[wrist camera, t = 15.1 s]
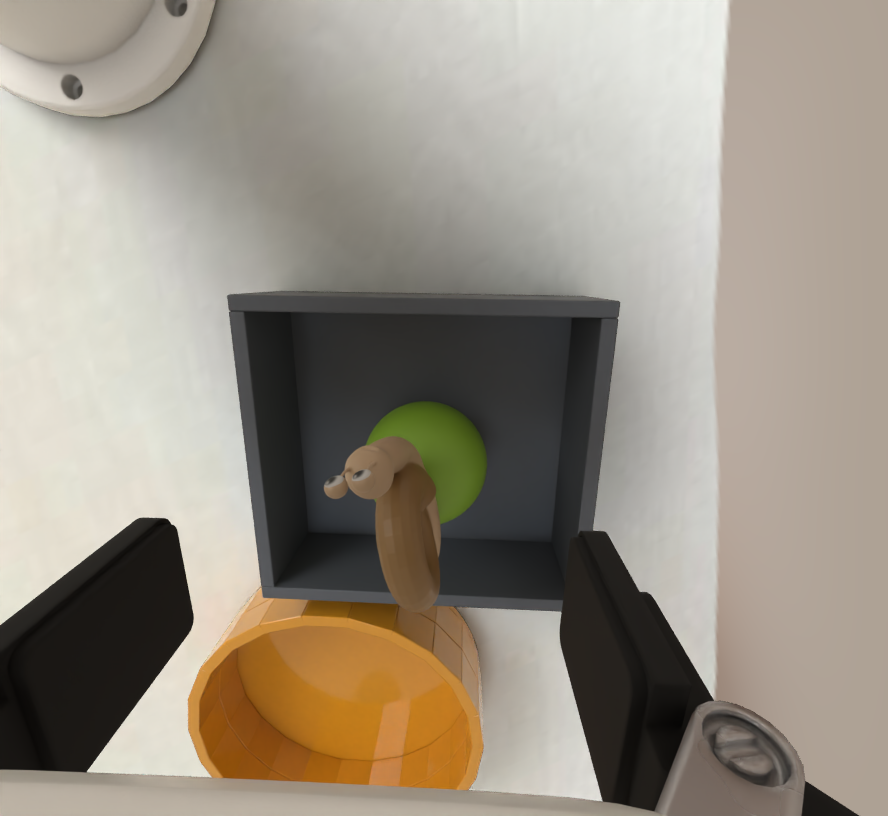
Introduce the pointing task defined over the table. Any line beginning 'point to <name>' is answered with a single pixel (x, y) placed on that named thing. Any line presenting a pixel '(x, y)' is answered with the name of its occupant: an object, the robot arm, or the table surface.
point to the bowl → (341, 696)
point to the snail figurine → (415, 491)
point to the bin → (413, 380)
